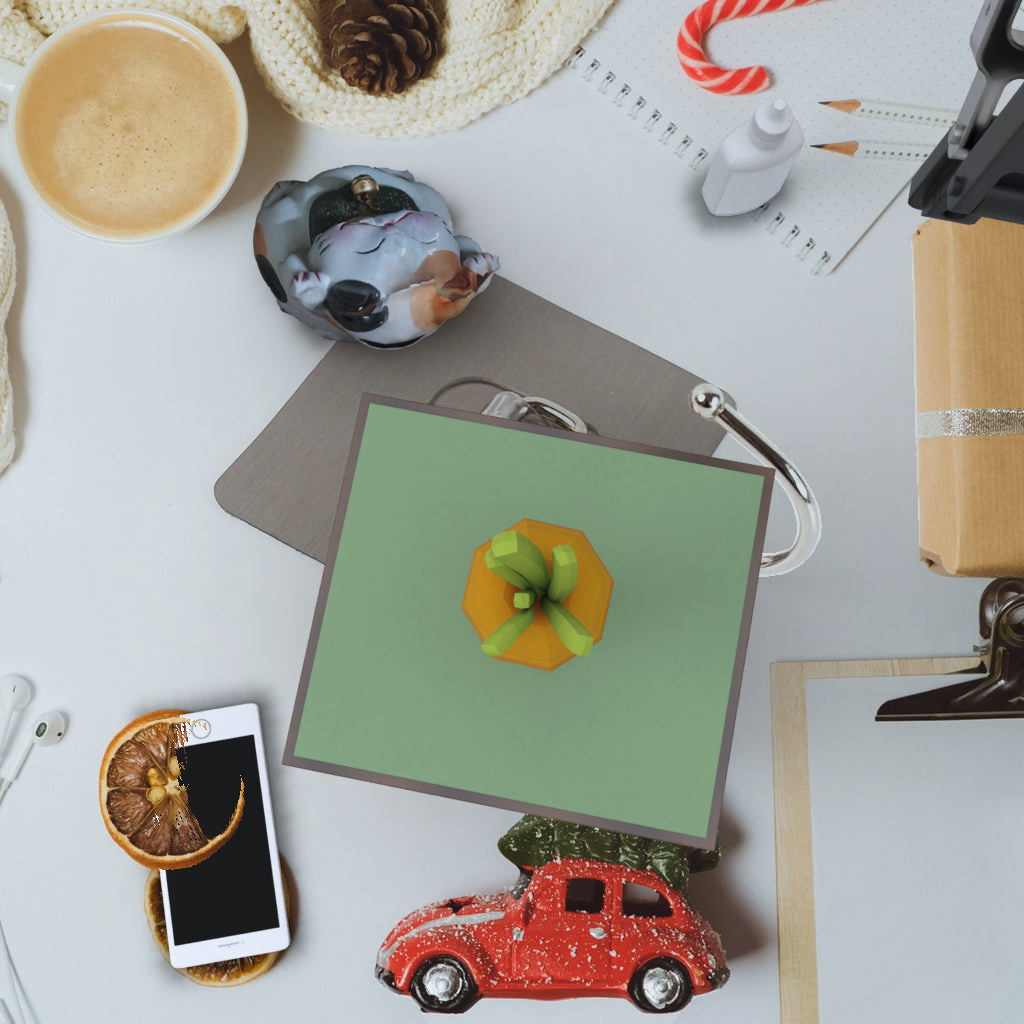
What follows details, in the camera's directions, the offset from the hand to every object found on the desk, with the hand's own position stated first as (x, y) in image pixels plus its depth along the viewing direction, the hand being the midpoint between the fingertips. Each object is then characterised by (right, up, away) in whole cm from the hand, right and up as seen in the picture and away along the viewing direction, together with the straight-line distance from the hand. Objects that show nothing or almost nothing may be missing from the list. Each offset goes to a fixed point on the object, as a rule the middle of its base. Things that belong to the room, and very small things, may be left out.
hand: (962, 74), depth 32 cm
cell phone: (-33, -35, +38) cm, 61 cm away
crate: (-13, -22, +39) cm, 46 cm away
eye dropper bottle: (+3, +10, +44) cm, 45 cm away
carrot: (-13, -18, +11) cm, 24 cm away
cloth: (-13, -18, +11) cm, 25 cm away
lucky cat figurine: (-23, +3, +43) cm, 49 cm away
